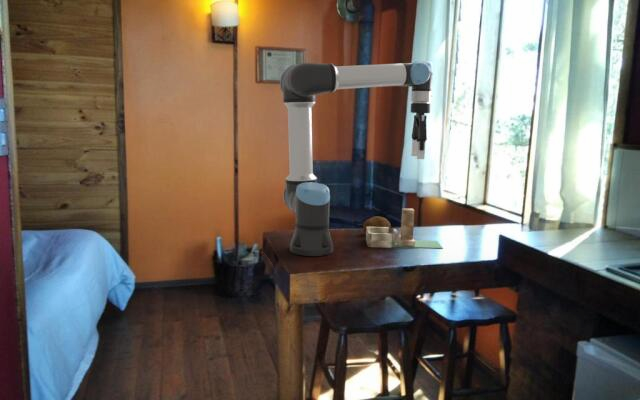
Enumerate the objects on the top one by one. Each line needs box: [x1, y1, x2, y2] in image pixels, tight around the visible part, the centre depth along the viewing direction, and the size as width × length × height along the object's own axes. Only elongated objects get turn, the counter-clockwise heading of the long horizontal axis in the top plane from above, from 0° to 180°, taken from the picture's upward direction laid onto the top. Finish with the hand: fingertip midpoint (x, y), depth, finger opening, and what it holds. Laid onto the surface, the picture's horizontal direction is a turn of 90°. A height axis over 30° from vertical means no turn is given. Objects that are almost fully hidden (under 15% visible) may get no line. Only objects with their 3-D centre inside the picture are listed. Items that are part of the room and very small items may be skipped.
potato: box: [362, 215, 391, 234], centre depth 208 cm, size 8×12×8 cm, turn 122°
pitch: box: [391, 239, 444, 250], centre depth 195 cm, size 26×10×1 cm, turn 89°
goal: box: [365, 227, 393, 249], centre depth 195 cm, size 9×12×5 cm
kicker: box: [392, 207, 416, 246], centre depth 194 cm, size 7×10×13 cm
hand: (417, 157), depth 204 cm, fingers open, 13 cm apart
